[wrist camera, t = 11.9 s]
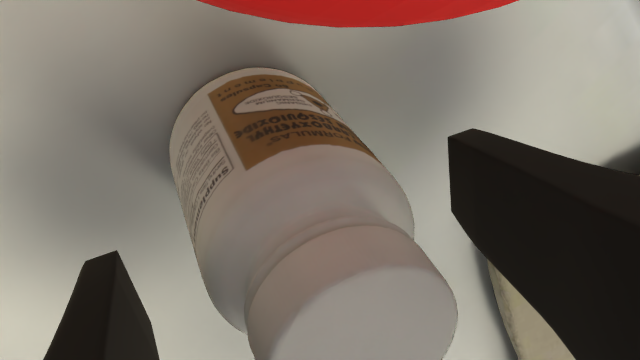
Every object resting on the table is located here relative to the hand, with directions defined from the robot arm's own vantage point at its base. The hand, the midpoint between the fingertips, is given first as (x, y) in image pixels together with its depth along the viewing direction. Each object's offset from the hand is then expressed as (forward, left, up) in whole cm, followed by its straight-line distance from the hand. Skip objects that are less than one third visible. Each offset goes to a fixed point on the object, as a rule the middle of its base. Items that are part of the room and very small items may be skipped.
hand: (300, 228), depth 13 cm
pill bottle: (0, 0, -4) cm, 4 cm away
